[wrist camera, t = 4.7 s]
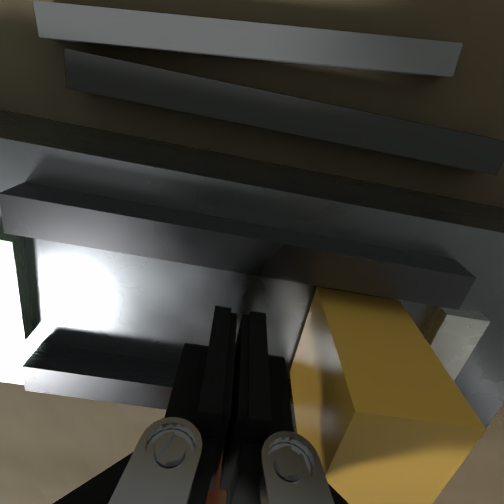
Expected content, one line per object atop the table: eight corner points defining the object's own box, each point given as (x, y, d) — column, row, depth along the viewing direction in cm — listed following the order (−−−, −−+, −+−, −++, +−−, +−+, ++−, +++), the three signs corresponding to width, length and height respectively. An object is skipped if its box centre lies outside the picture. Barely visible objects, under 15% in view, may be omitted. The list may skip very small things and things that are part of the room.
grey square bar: (447, 45, 12) (463, 43, 11) (438, 77, 13) (453, 76, 12) (49, 6, 12) (32, 0, 11) (54, 40, 12) (38, 37, 11)
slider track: (526, 213, 15) (650, 271, 10) (432, 378, 19) (488, 472, 15) (-52, 100, 13) (-219, 109, 8) (-13, 311, 17) (-111, 394, 13)
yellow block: (399, 300, 12) (485, 429, 8) (362, 382, 14) (414, 527, 9) (316, 286, 12) (355, 411, 7) (289, 371, 14) (307, 514, 9)
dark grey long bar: (492, 138, 14) (512, 143, 13) (477, 168, 14) (496, 175, 13) (81, 51, 12) (64, 48, 11) (81, 87, 13) (66, 88, 12)
